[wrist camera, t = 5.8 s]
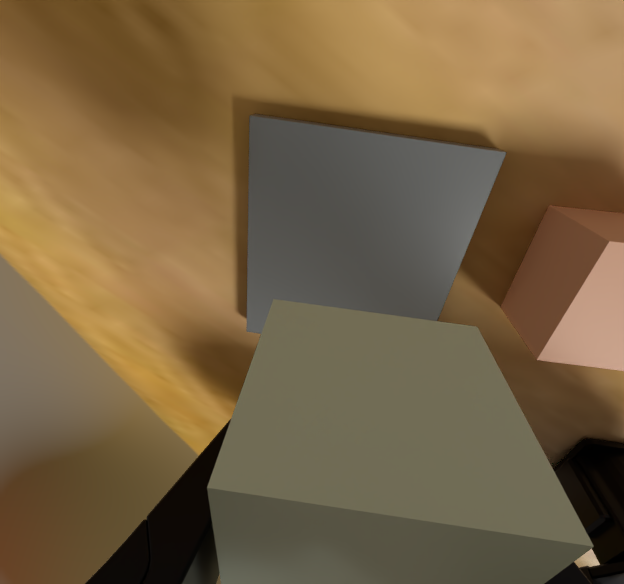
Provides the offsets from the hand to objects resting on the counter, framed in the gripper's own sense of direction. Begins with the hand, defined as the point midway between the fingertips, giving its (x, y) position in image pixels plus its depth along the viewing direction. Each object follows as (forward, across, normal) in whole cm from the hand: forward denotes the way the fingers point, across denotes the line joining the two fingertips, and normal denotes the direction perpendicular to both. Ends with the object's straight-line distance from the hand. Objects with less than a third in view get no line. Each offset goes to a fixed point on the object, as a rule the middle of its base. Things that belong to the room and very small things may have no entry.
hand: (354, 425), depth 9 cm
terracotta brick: (+11, -12, -1) cm, 16 cm away
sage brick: (+1, 0, 0) cm, 1 cm away
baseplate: (+11, 0, 0) cm, 11 cm away
